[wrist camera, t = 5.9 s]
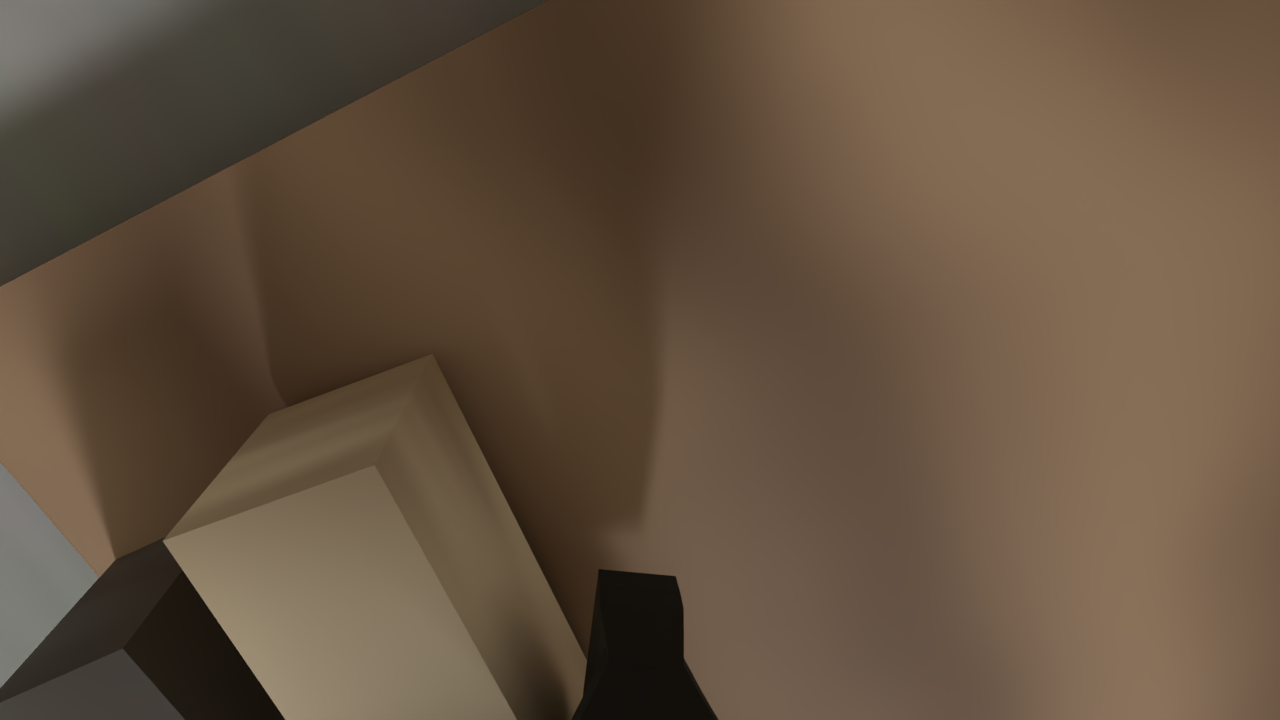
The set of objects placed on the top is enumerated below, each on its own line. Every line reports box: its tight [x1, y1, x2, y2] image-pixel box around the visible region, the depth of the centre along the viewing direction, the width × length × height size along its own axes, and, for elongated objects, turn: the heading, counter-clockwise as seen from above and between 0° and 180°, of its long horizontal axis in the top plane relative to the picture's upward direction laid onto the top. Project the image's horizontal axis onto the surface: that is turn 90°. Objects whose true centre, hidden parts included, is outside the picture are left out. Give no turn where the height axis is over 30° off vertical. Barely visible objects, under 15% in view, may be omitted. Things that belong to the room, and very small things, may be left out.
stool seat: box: [0, 0, 1280, 720], centre depth 13 cm, size 20×20×5 cm
